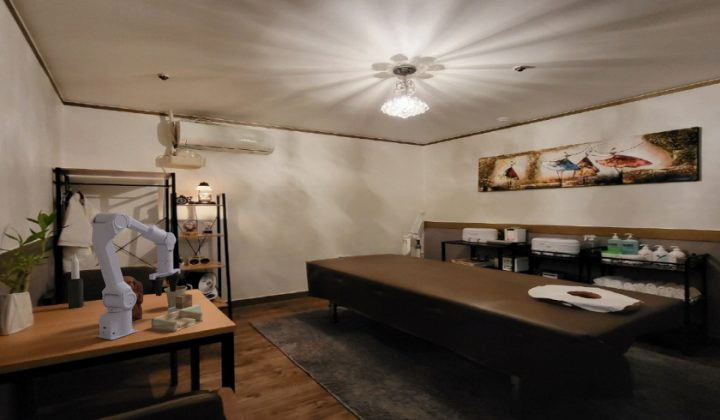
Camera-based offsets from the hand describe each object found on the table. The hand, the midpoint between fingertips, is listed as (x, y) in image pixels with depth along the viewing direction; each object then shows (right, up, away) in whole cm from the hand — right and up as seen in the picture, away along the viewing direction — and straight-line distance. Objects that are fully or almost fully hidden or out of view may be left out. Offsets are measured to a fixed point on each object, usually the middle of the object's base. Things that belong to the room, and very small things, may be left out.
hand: (165, 293), depth 153 cm
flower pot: (-4, -10, +16) cm, 19 cm away
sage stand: (+6, -10, +4) cm, 12 cm away
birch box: (+10, -10, -11) cm, 17 cm away
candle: (-52, -11, +19) cm, 57 cm away
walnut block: (+6, -7, +4) cm, 10 cm away
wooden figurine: (-14, -10, -4) cm, 18 cm away
